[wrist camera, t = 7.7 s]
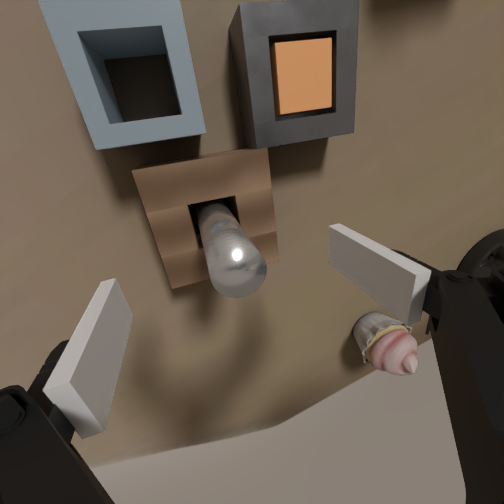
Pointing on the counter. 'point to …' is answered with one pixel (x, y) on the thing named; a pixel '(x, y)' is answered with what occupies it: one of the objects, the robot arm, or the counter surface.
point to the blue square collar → (123, 46)
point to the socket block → (204, 189)
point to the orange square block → (301, 75)
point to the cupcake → (386, 344)
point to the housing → (259, 67)
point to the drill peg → (229, 251)
